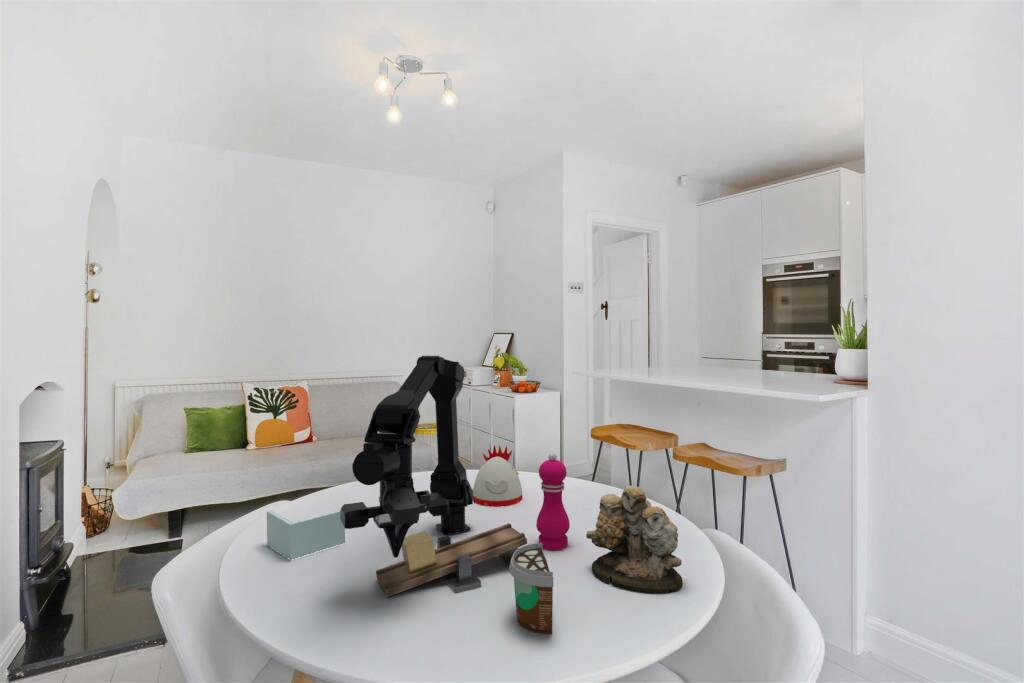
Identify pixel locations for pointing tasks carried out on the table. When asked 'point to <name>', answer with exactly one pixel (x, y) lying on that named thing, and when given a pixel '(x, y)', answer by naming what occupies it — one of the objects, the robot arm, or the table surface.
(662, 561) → the owl figurine
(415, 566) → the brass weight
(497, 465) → the kitchen timer
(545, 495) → the pepper mill
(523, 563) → the food container
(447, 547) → the balance beam
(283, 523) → the right angle wall
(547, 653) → the table surface
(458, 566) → the stand
